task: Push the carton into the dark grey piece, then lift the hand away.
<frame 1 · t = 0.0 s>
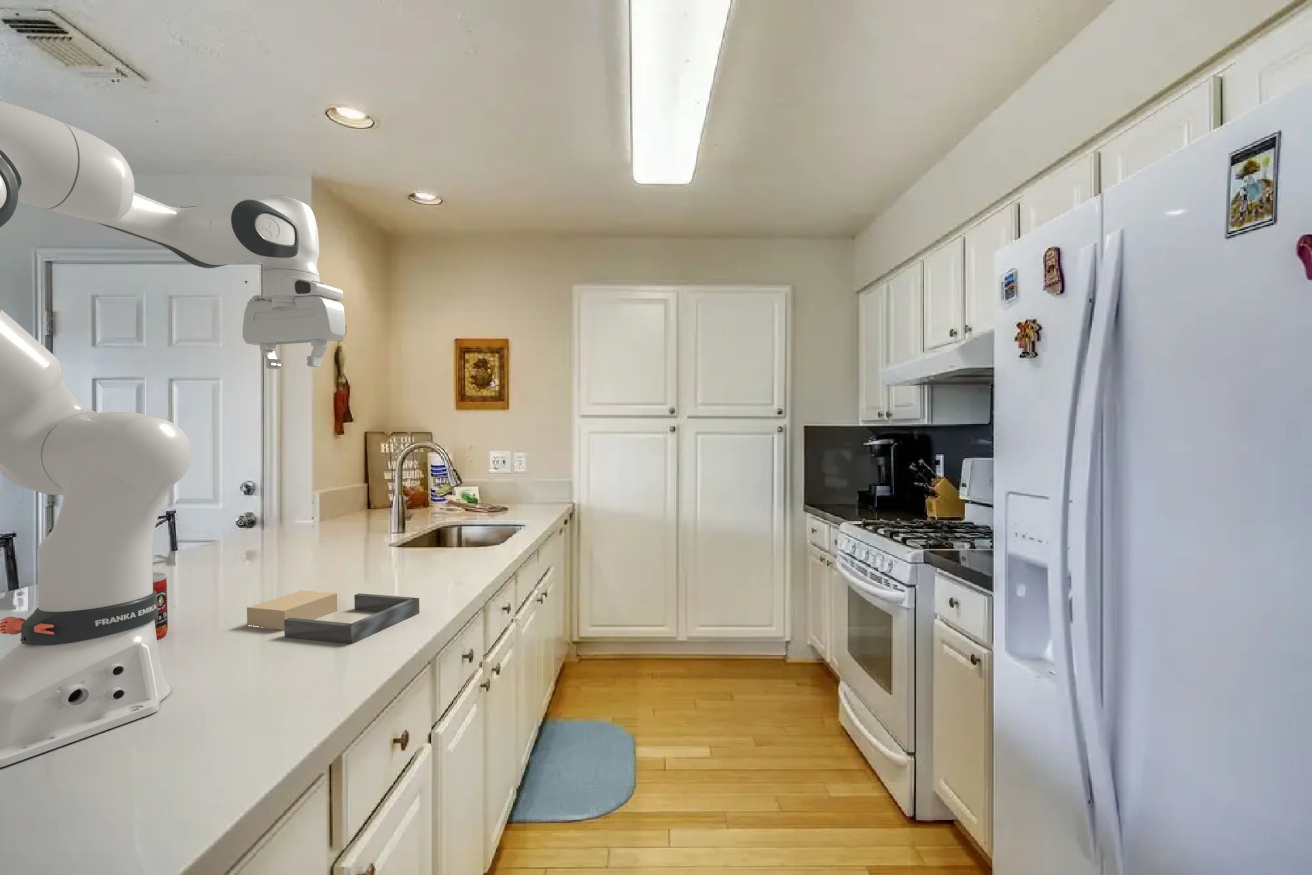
hand: (293, 367, 107), 48 cm above the countertop, tool pointing down, fingers open, 8 cm apart
canned food: (139, 640, 104), on the countertop
carton: (294, 620, 115), on the countertop
dark grey piece: (352, 623, 111), on the countertop
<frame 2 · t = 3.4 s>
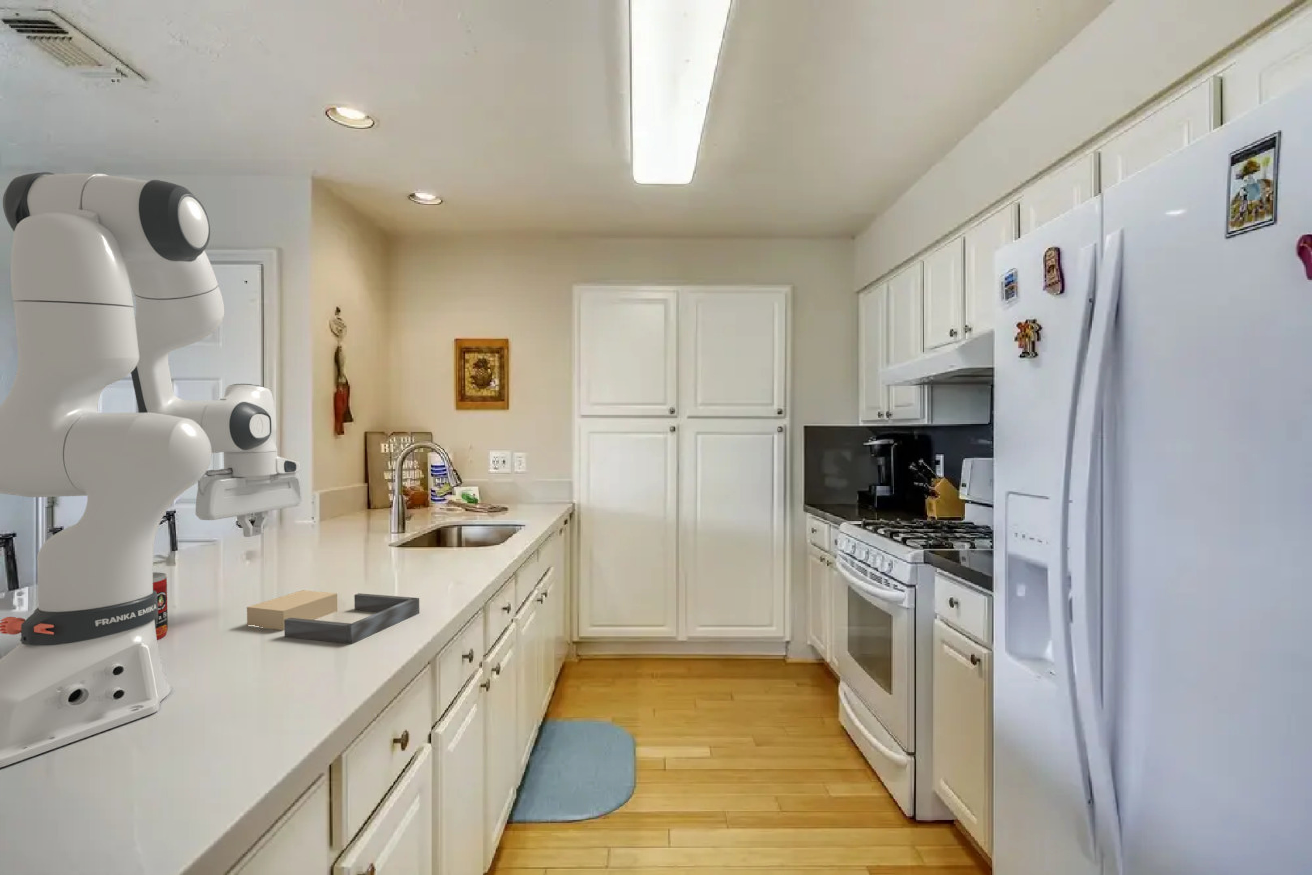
hand: (253, 535, 118), 16 cm above the countertop, tool pointing down, fingers closed
nothing on the countertop moved.
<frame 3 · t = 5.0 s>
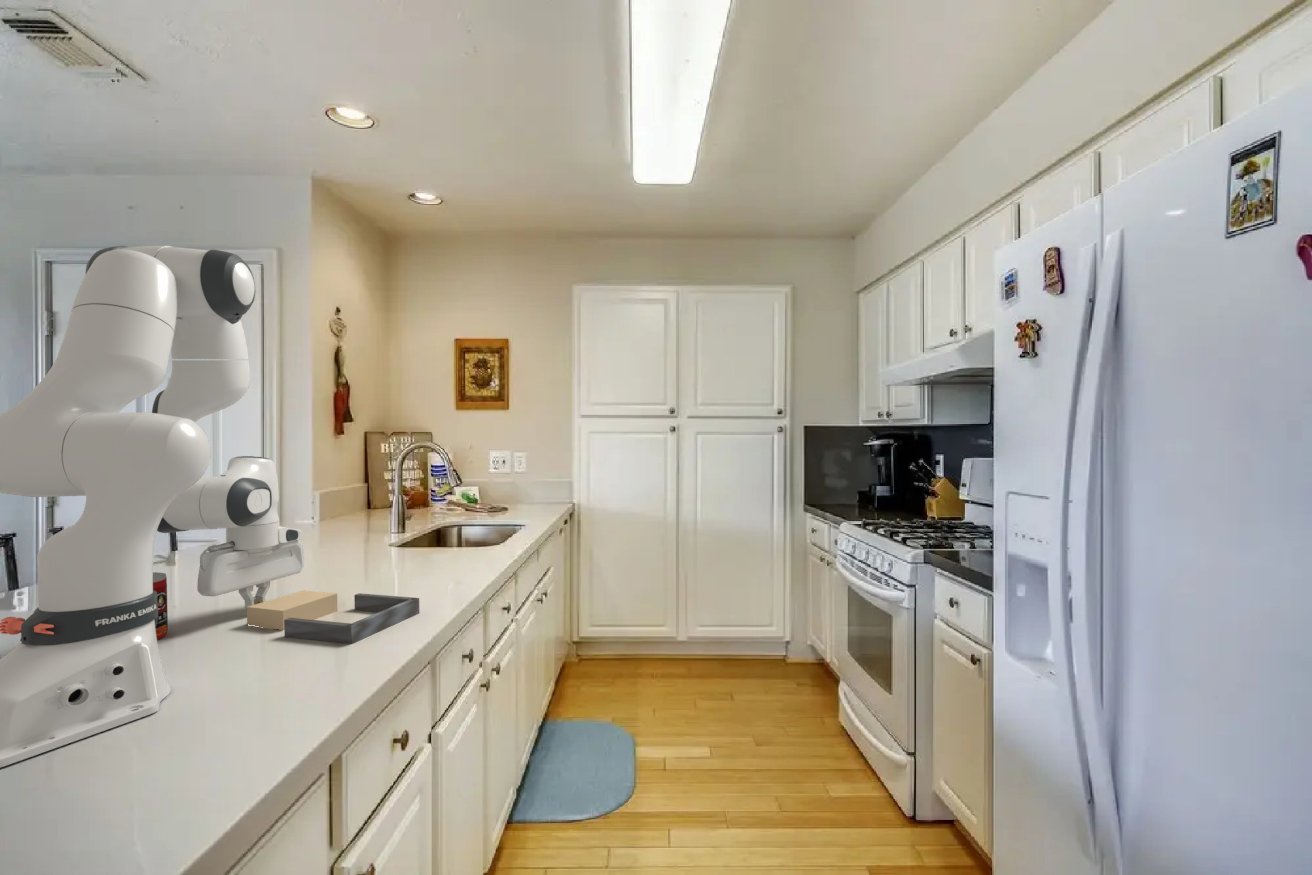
hand: (255, 606, 118), 2 cm above the countertop, tool pointing down, fingers closed
nothing on the countertop moved.
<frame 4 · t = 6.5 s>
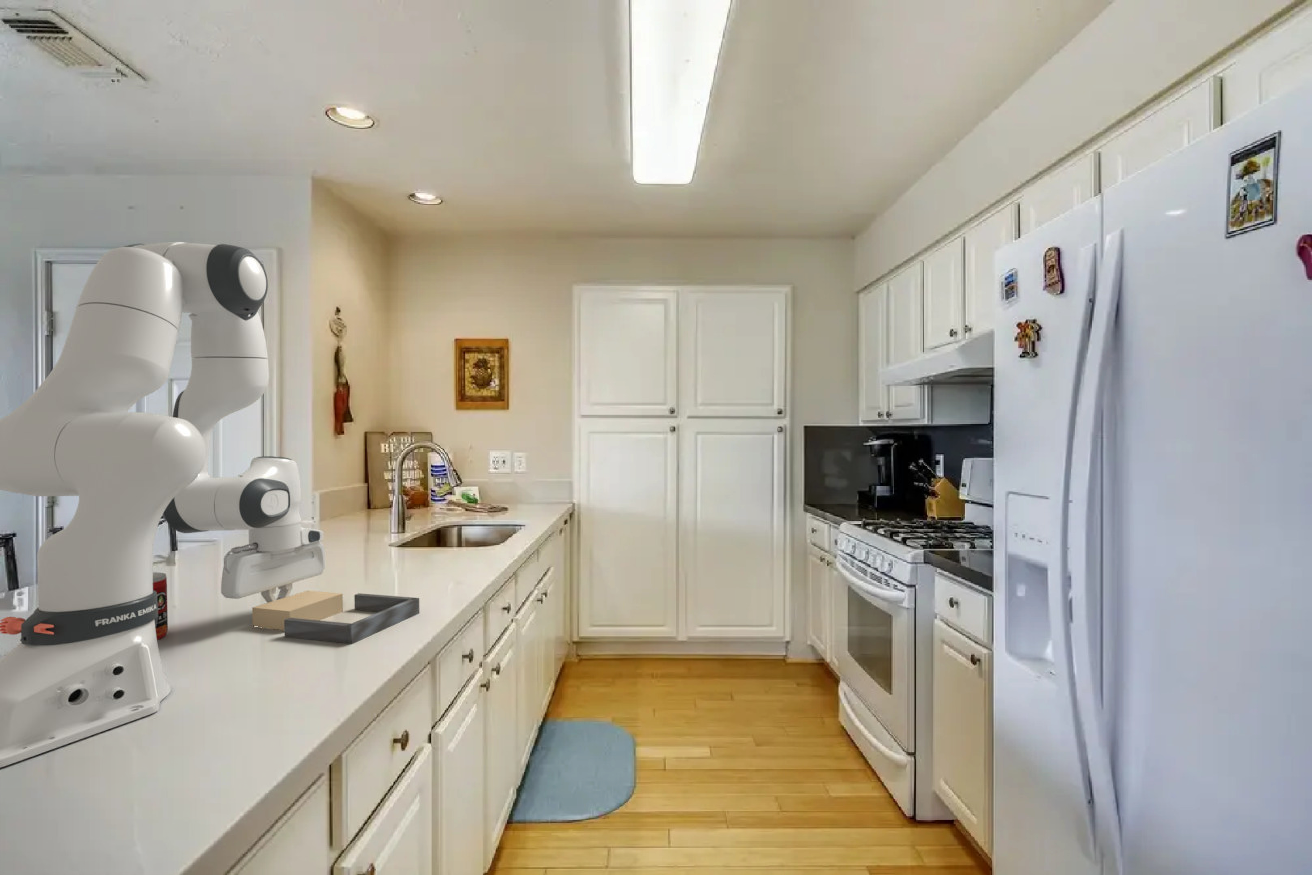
hand: (277, 608, 116), 2 cm above the countertop, tool pointing down, fingers closed
carton: (299, 620, 114), on the countertop, touching gripper
everything else where it was.
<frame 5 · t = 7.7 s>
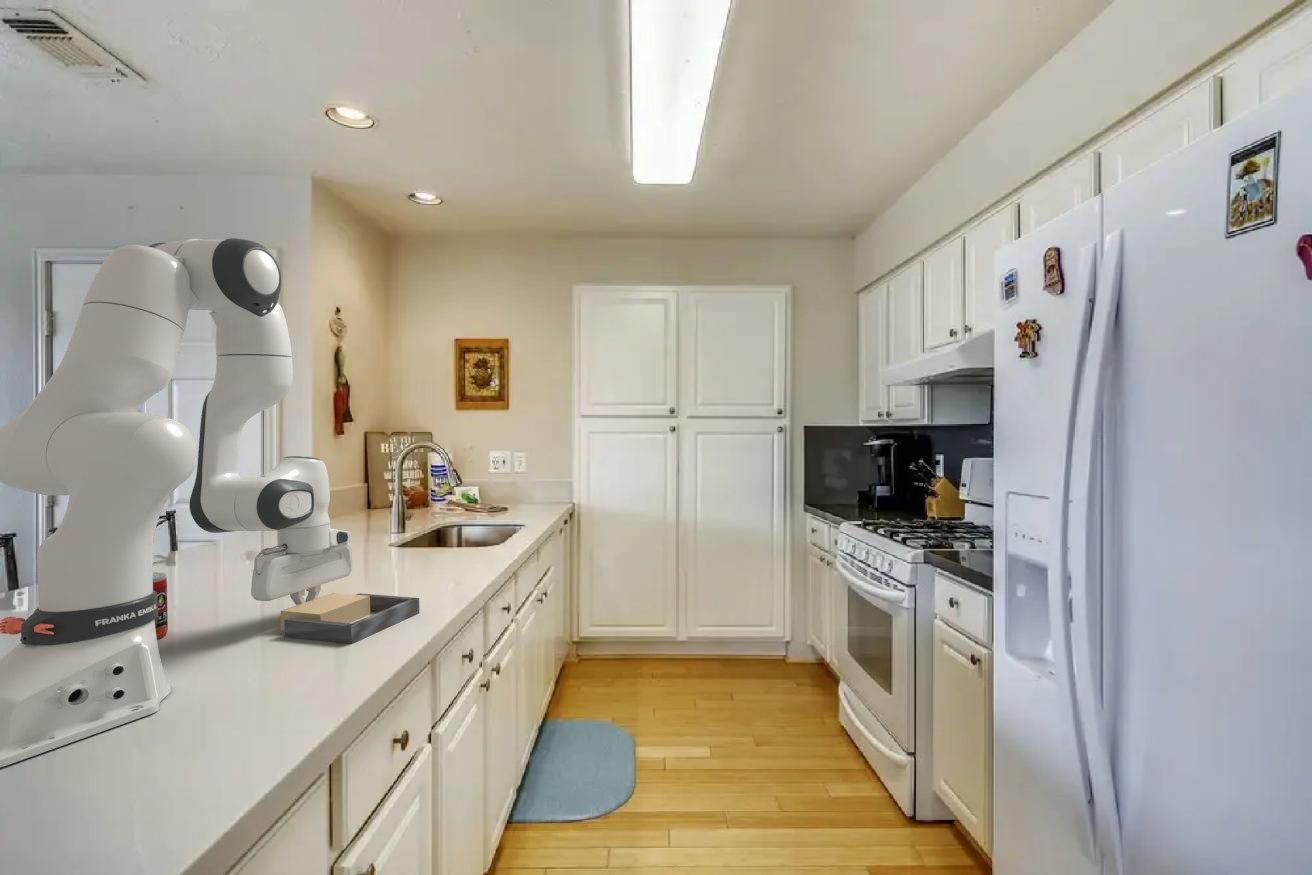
hand: (306, 611, 114), 2 cm above the countertop, tool pointing down, fingers closed
carton: (327, 623, 112), resting in dark grey piece
everything else where it was.
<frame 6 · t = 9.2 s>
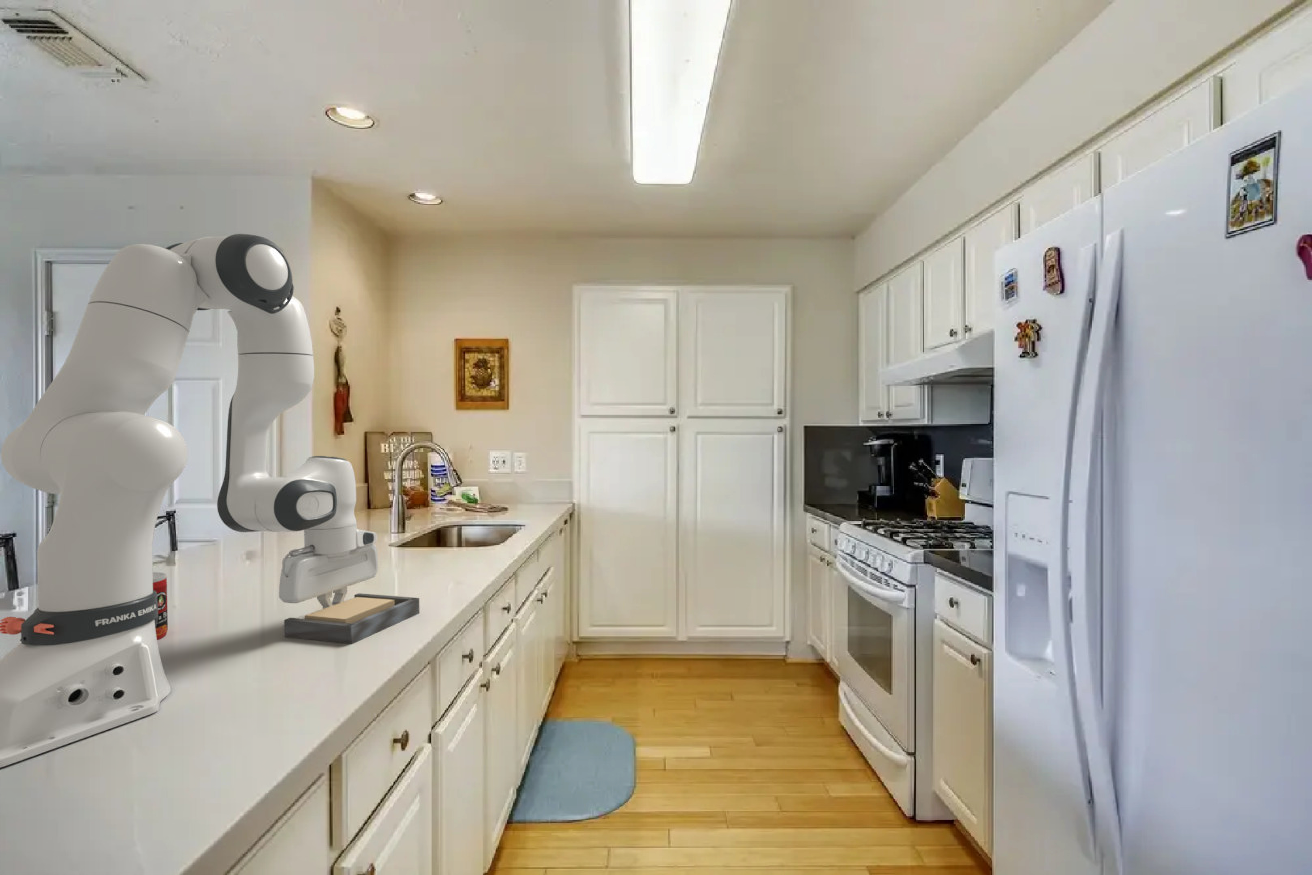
hand: (332, 613, 112), 2 cm above the countertop, tool pointing down, fingers closed
carton: (352, 628, 110), resting in dark grey piece, touching gripper
everything else where it was.
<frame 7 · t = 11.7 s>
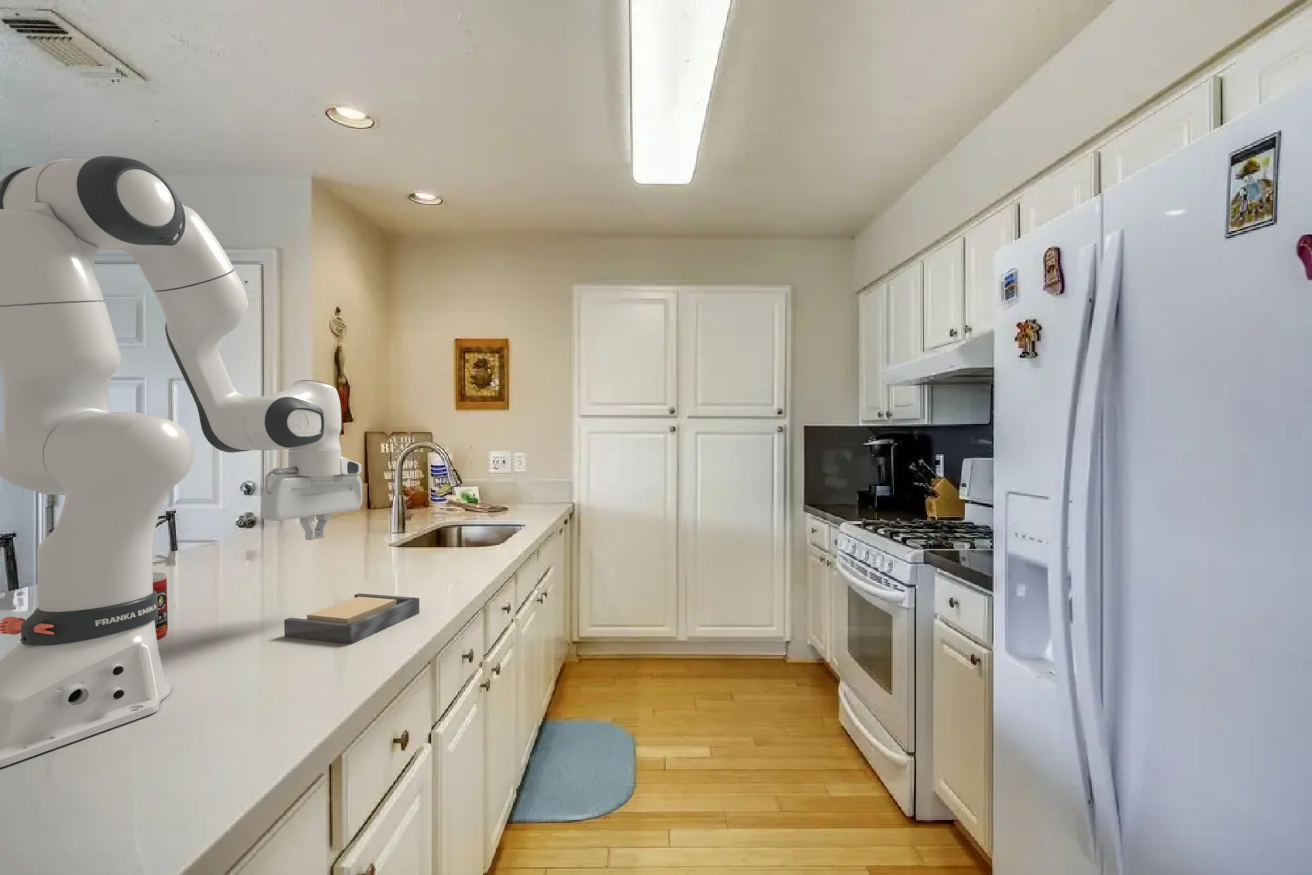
hand: (315, 539, 113), 16 cm above the countertop, tool pointing down, fingers closed
carton: (353, 628, 110), resting in dark grey piece
everything else where it was.
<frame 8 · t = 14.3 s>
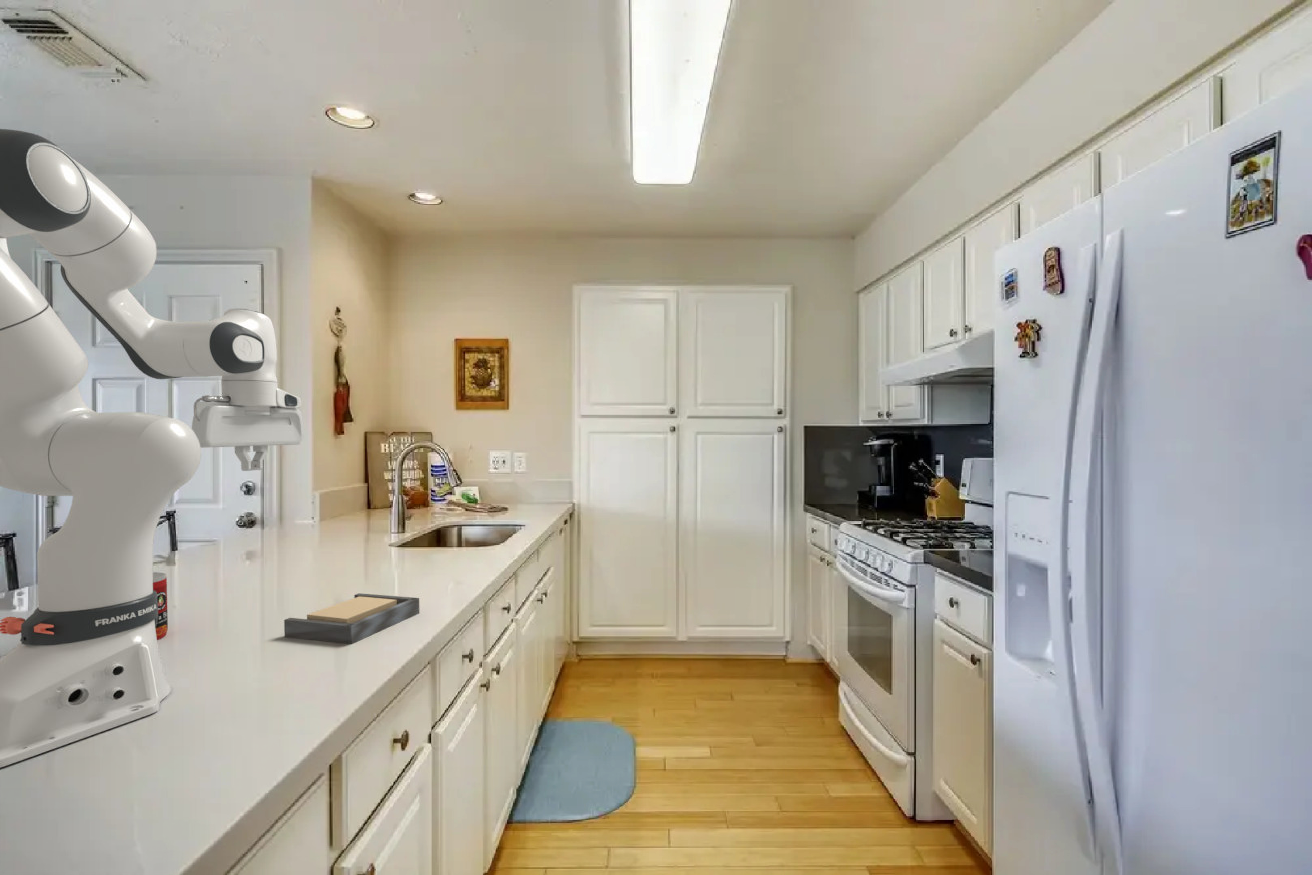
hand: (252, 470, 112), 29 cm above the countertop, tool pointing down, fingers closed
nothing on the countertop moved.
at the end: carton 1.0 cm from the target spot on the dark grey piece, point 0.0 cm above the dark grey piece's base; carton tilted 0° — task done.
